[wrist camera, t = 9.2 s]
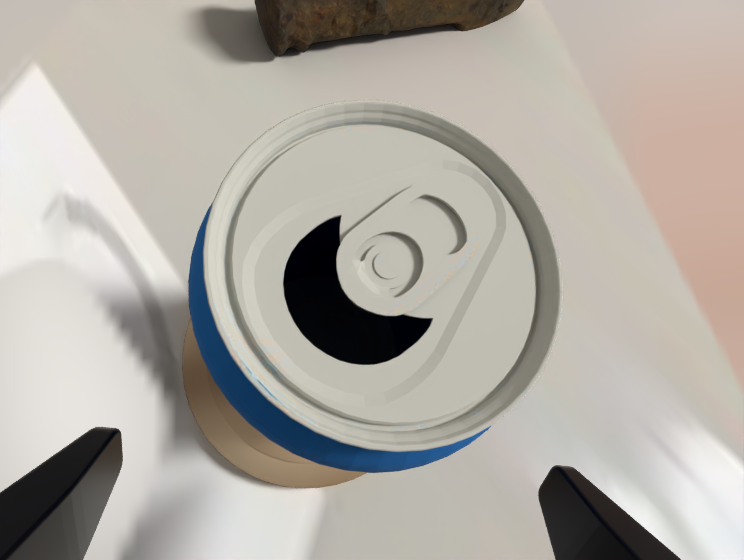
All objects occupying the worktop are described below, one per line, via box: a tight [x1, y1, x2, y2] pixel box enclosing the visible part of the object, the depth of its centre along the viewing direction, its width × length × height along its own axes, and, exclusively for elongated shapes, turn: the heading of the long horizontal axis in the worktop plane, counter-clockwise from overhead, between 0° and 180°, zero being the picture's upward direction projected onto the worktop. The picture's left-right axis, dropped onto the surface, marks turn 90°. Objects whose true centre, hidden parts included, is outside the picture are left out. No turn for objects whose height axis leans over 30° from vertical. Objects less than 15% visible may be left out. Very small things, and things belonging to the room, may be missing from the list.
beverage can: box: [188, 100, 563, 473], centre depth 11 cm, size 6×6×12 cm
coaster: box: [182, 319, 367, 488], centre depth 17 cm, size 11×11×1 cm
